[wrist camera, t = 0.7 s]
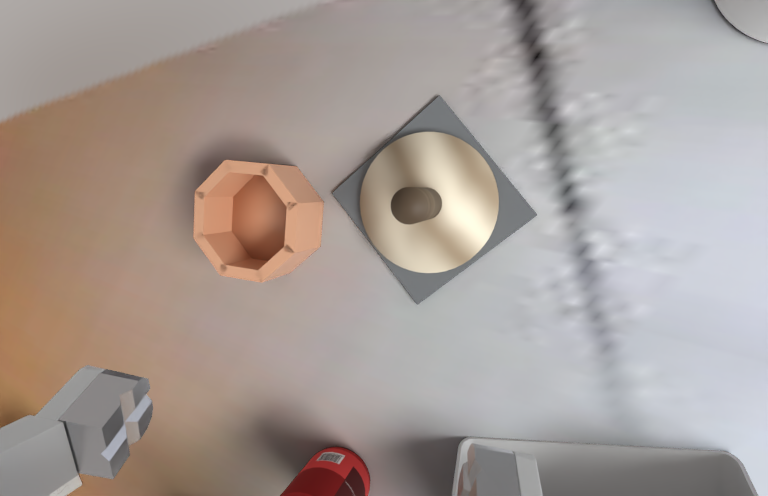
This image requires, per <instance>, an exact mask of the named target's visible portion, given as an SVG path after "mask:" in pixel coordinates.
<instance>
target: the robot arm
mask: <svg viewBox="0 0 768 496" xmlns="http://www.w3.org/2000/svg"><path fill="white" fill-rule="evenodd" d="M715 2H716V4H717V6H718V8H719V10H720V11H721V13H722V14H723V15H724V16H725V18H726V19H727V20H728V21H729V22H730V23H731V24H732V25H733V26H735V27H736V28H737V29H738V30H740V31H741V32H743V33H744V34H746V35H748V36H750V37H752V38H754V39H757V40H759V41H762V42H765V43H768V0H715ZM149 389H150V385H149V380H148V379H147V378H143V377H138V376H134V375H130V374H125V373H121V372H117V371H112V370H108V369H103V368H98V367H94V366H89V365H87V366H85V367H83V368H81V369H80V370H78V372H77V373H76V374H75V375H74V376H73V377H72V378H71V379H70V380H69V381H68V382H67V383H66V384H65V385H64V386H63V387H62V388H61V389H60V390H59V391H58V392H57V393H56V394H55V396H54V397H53V398H52V399H51V400H50V401H49V402H48V403H47V404H46V405H45V406H44V407H43V408H42V409H41V410H40V411H39V412H38V413H37V414H36V415H35V416H32V415H28V416H26V417H23V418H21V419H19V420H17V421H15V422H13V423H10V424H8V425H6V426H4V427H2V428H0V496H48V495H50V494H51V493H53V492H54V491H56V490H57V489H59V488H60V487H61V486H63V485H64V484H66V483H67V482H69V481H70V480H72V479H73V478H75V477H76V476H77V475H78V473H81V474H87V475H92V476H98V477H104V478H109V479H114V477H115V476H116V474H117V473H118V471H119V470H120V469H121V467H122V466H123V464H124V463H125V461H126V460H127V458H128V457H129V455H130V451H129V445H131V444H133V443H134V442H136V441H138V440H140V439H141V437H142V436H143V434H144V433H145V431H146V430H147V428H148V425H149V423H150V420H151V417H152V411H153V405H152V400H151V399H150V398H149V397H148V396H147V395H146V394H147V392H148V391H149ZM467 460H468V462H466V463H464V464H463V465H462V469H461V472H460V476H459V482H458V493H457V496H543V494H542V489H541V484H540V478H539V473H538V468H537V462H536V459H535V457H534V456H533V455H530V454H525V453H520V452H515V451H511V450H507V449H501V448H496V447H491V446H485V445H480V444H475V443H472V444H471V445H470V447H469V449H468V452H467Z"/></svg>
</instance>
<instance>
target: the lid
mask: <svg viewBox="0 0 768 496" xmlns="http://www.w3.org/2000/svg"><path fill="white" fill-rule="evenodd" d="M360 211H361V217H362V221H363V225H364V228H365V230H366V233H367V235H368V236H369V238H370V240H371V242H372V243H373V245H374V246H375V247H376V248H377V250H378V251H379V252H380V253H381V254H382V255H383V256H385V257H386V258H387V259H388V260H390V261H391V262H393V263H394V264H396V265H398V266H400V267H402V268H404V269H407V270H410V271H414V272H419V273H438V272H444V271H448V270H451V269H454V268H456V267H458V266H460V265H462V264H464V263H465V262H467V261H468V260H470V259H471V258H472V257H473V256H475V255H476V254H477V253H478V252H479V251H480V250H481V248H482V247H483V246H484V245H485V243H486V242H487V241H488V239H489V238H490V236H491V234H492V231H493V229H494V227H495V224H496V221H497V216H498V211H499V193H498V188H497V183H496V180H495V177H494V174H493V172H492V170H491V168H490V167H489V165H488V163H487V162H486V161H485V159H484V158H483V157H482V156H481V155H480V153H479V152H478V151H477V150H475V149H474V148H473V147H472V146H470V145H469V144H468V143H466V142H464V141H463V140H461V139H459V138H457V137H454V136H452V135H448V134H445V133H439V132H419V133H414V134H410V135H407V136H404V137H402V138H400V139H398V140H396V141H394V142H393V143H391V144H390V145H388V146H387V147H386V148H385V149H383V150H382V151H381V152H380V153H379V154H378V156H377V157H376V158H375V159H374V161H373V162H372V163H371V165H370V167H369V169H368V171H367V173H366V175H365V178H364V180H363V184H362V188H361V194H360Z"/></svg>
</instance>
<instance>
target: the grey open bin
mask: <svg viewBox="0 0 768 496" xmlns="http://www.w3.org/2000/svg"><path fill="white" fill-rule="evenodd" d="M472 443H475V444H480V445H485V446H491V447H496V448H501V449H507V450H511V451H515V452H520V453H525V454H530V455H533V456H534V457H535V459H536V462H537V468H538V473H539V478H540V484H541V489H542V494H543V496H758V494H757V492H756V490H755V488H754V486H753V484H752V482H751V480H750V478H749V475H748V473H747V471H746V469H745V467H744V465H743V464H742V462H741V461H740V460H739V459H738V458H737V457H735V456H734V455H732V454H731V453H728V452H726V451H716V450H698V449H680V448H662V447H644V446H626V445H608V444H590V443H572V442H554V441H536V440H518V439H500V438H482V437H467V438H465V439H463V440H462V441H461V442H460V444H459V446H458V453H457V460H456V467H455V474H454V481H453V489H452V496H457V493H458V482H459V476H460V472H461V469H462V465H463V464H464V463H466V462H468V460H467V452H468V449H469V447H470V445H471V444H472Z"/></svg>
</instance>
